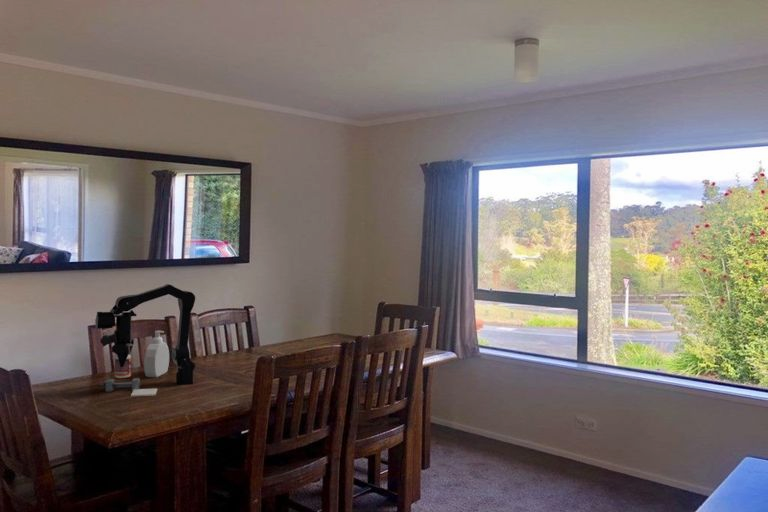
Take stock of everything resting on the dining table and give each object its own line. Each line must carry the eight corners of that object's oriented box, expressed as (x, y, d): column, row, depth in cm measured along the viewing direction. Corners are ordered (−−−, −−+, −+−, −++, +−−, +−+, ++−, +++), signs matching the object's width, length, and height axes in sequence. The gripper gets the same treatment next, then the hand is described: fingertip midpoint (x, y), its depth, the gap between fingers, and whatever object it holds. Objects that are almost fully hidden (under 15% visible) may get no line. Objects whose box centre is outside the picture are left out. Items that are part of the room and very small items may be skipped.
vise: (140, 385, 252) (140, 376, 252) (138, 390, 245) (138, 380, 244) (101, 387, 248) (101, 377, 248) (97, 392, 240) (97, 382, 240)
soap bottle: (155, 378, 265) (156, 333, 265) (143, 378, 265) (144, 333, 265) (170, 370, 281) (170, 328, 281) (158, 370, 281) (159, 328, 281)
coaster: (157, 389, 246) (157, 388, 246) (155, 395, 237) (155, 394, 237) (133, 390, 244) (133, 389, 244) (130, 396, 235) (130, 395, 235)
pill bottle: (132, 377, 244) (132, 350, 244) (116, 378, 241) (116, 351, 240) (129, 374, 249) (129, 347, 249) (113, 375, 246) (113, 349, 246)
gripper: (106, 324, 251) (105, 361, 252) (97, 331, 233) (97, 371, 234) (134, 324, 254) (134, 360, 255) (128, 330, 236) (128, 370, 237)
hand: (123, 365), depth 245 cm, fingers closed on pill bottle, 6 cm apart
